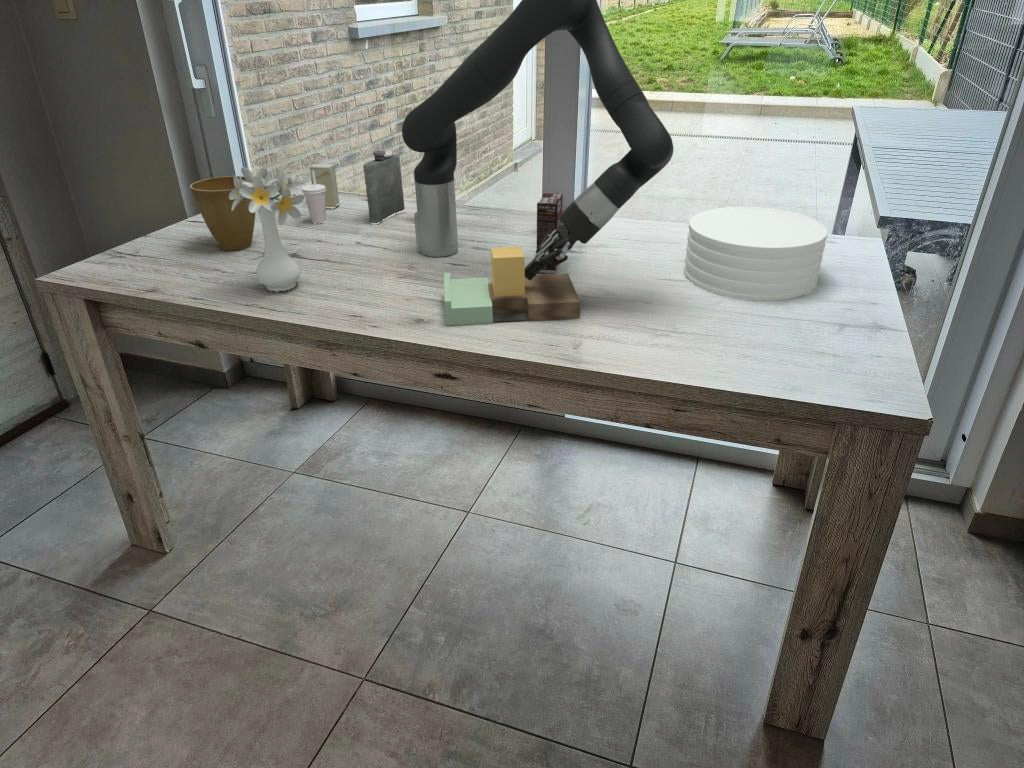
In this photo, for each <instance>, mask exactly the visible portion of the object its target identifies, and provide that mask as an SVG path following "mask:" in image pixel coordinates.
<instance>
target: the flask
mask: <svg viewBox="0 0 1024 768" xmlns="http://www.w3.org/2000/svg"><path fill="white" fill-rule="evenodd" d="M372 155H373V157H374V158H373V160H370V161H368V162H366V163H364V164H362V165H363V166H362V167H363V174H364V175H363V176H364V182H365V191H366V197H367V207H368V215H369V222H372V223H378V222H380V221H382V220H383V219H385V218H387V217H388V216H390V215H392V214H394V213H397V212H399V211H402V210H404V209H405V200H404V188H403V179H402V169H401V158H400V157H401V156H400V154H388V155H387V154H386V151H385V150H374V151H373V152H372Z"/></svg>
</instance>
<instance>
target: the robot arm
mask: <svg viewBox="0 0 1024 768" xmlns="http://www.w3.org/2000/svg"><path fill="white" fill-rule="evenodd" d="M557 31H568V33H569V34H570V35H571V36H572V37H573V38H574V40H575V41H576V43H578V45H579V47H580V48H581V50H582V52H583V54H584V56H585V59H586V62H587V65H588V68H589V72H590V76H591V80H592V83H593V86H594V89H595V92H596V93H597V94H596V95H597V96H598V98H599V100H600V101H601V103H602V105H603V107H604V108H605V110H606V111H607V113H608V114H609V117H610V118H611V120H612V121H613V122H614V124H615V125H616V126H617V127H618V128H619V130H620V131H621V133H622V135H623V138H624V139H625V141H626V143H627V144H628V146H629V148H630V150H629V151H628V152H627V153H626V154H624V156H623V157H622V158H621V159H619V161H618V162H615V163H613V164H611V165H610V166H609V167H608V168H606V170H604V171H603V172H602V173H601V174H600V175H599V176H598V178H596V180H595V181H593V182H592V183H591V184H590V185H589V186H588V187H586V188H585V189H583V191H581V193H580V194H579V195H578V196H577V197H575V199H573V201H572V202H571V203H570V204H569V205H568V206H567V207H566V208H565V209H564V210H562V213H561V214H560V215H559V219H560V221H561V223H562V225H561V226H560V227H558V228H557V229H555V230H554V231H552V230H549V231H548V232H547V234H546V236H545V237H544V239H543V240H542V242H541V244H540V245H539V247H538V248H537V247H536V250H535V253H536V254H535V255H534V258H533V260H531V261H530V262H529V263H528V264H527V265H526V266H525V277H526V278H527V279H528V280H532V279H533V278H534V277H535V276H536V275H539V274H540V273H539V272H540V271H541V270H542V269H543V268H544V269H545V268H546V269H547V270H549V269H551V268H553V267H555V266H557V265H558V264H559V265H560V264H562V263H564V262H566V261H567V260H568V259H569V256H568V255H567V254H568V253H569V252H570V251H572V248H573V247H574V245H576V244H575V243H577V242H578V241H579V242H580V243H581V244H585V245H586V244H588V243H589V241H590V240H591V239H593V237H595V236H596V235H597V233H599V232H600V231H601V230H602V228H603V227H604V226H606V225H607V224H608V223H609V222H610V221H611V220H612V219H613V218H614V216H615V215H616V213H617V212H618V211H619V210H620V209H621V208H622V207H623V206H624V205H625V204H626V203H627V202H628V201H629V200H630V199H631V198H632V197H633V196H635V194H636V193H637V191H639V189H640V188H642V187H643V186H644V185H645V184H647V183H648V182H649V181H650V180H651V179H653V177H655V176H656V175H657V174H658V173H660V172H661V171H662V170H663V169H664V168H665V167H666V166H667V165H668V164H669V162H670V161H671V159H672V158H673V154H674V143H673V139H672V136H671V135H670V133H669V131H668V129H666V127H665V125H664V124H663V122H662V121H661V119H660V118H659V116H658V115H657V114H656V113H655V111H654V110H653V108H652V107H651V105H650V103H649V101H648V99H647V97H646V95H645V93H644V92H643V90H642V89H641V87H640V86H639V84H638V82H637V80H636V79H635V77H634V75H633V74H632V73H631V70H630V69H629V67H628V66H627V64H626V62H625V60H624V58H623V57H622V55H621V52H620V51H619V49H618V47H617V45H616V43H615V41H614V38H613V37H612V35H611V32H610V30H609V27H608V26H607V23H606V21H605V18H604V16H603V14H602V11H601V8H600V6H599V3H598V1H597V0H520V2H519V3H518V4H517V6H516V7H515V8H514V10H513V11H512V12H511V13H510V14H509V16H508V17H507V18H506V19H505V20H504V21H503V22H502V23H501V24H500V25H499V26H498V27H497V28H495V30H494V31H493V32H492V33H491V34H490V35H489V36H488V37H486V38H485V40H484V41H482V43H480V44H479V45H478V46H477V47H476V48H475V49H474V50H473V51H472V52H471V53H470V54H469V55H468V56H467V57H466V59H464V61H462V62H461V64H460V65H459V66H458V67H457V68H456V69H455V70H454V72H452V74H451V75H449V76H448V77H447V79H446V80H445V81H444V82H443V83H442V84H441V85H440V86H439V88H437V90H435V91H434V92H433V93H432V94H431V95H430V96H429V97H427V99H425V100H424V101H422V102H421V103H420V104H419V105H417V106H416V107H414V108H413V109H412V110H411V111H409V113H408V114H407V115H406V116H405V118H404V119H403V122H402V126H401V137H402V140H403V142H404V143H405V145H406V147H407V148H408V149H410V150H412V151H413V152H415V153H416V152H417V153H423V156H422V158H421V160H420V161H419V163H418V164H417V165H416V166H415V167H414V170H413V178H414V190H415V201H416V202H415V203H416V210H417V211H416V212H415V213H414V214H413V219H414V231H415V240H416V241H415V242H416V251H417V253H420V252H421V253H420V254H422V255H424V256H426V255H427V257H434V258H436V257H438V258H440V257H448V256H451V255H455V254H456V253H458V251H459V241H458V240H459V239H458V237H459V236H458V223H457V222H458V221H457V220H458V219H457V205H456V204H457V203H456V188H455V186H456V185H455V170H456V168H457V167H456V166H457V162H458V161H457V160H458V157H457V156H458V155H457V154H458V153H457V152H458V150H457V148H458V147H457V145H458V144H457V141H458V139H457V126H456V122H457V121H458V120H460V119H462V118H464V117H465V116H467V115H469V114H471V113H473V112H474V111H476V110H478V109H479V108H481V107H482V106H484V105H486V104H488V103H490V101H492V100H493V99H495V97H497V96H498V95H499V94H500V93H501V92H502V91H504V89H506V88H507V87H508V86H509V85H510V84H511V83H512V81H513V80H514V79H515V77H516V76H517V74H518V72H519V71H520V68H521V66H522V63H523V61H524V59H525V57H526V56H527V55H528V53H529V52H530V51H531V50H532V49H533V48H535V46H537V45H538V44H539V43H540V42H541V41H543V40H544V39H545V38H546V37H548V36H549V35H551V34H552V33H554V32H557Z"/></svg>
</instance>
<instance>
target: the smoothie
mask: <svg viewBox="0 0 1024 768" xmlns="http://www.w3.org/2000/svg"><path fill="white" fill-rule="evenodd" d="M312 174H313V181H314V185H312V184H308V185H304V186H302V187H301V193H302V194H303V195H304V200H305V203H306V206H307V210H308V213H309V216H310V219H311V223H312V222H313V223H320V222H324V221H326V222H327V213H326V210H327V209H326V206H325V191H326V187H325V186H324V185H320V184H316V180H315V174H314V171H312ZM313 223H312V224H313Z"/></svg>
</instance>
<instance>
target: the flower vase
mask: <svg viewBox="0 0 1024 768" xmlns="http://www.w3.org/2000/svg"><path fill="white" fill-rule="evenodd" d="M240 172H241V174H242V175H236V174H234V175H233V176H234V178H233V180H234V185H235V187H236V188H237V189H238V190H232V191H231V192H230V194H229V199H230V200H234V199H237V200H235V201H234V203H233V205H232V211H233V210H234V209H235V207H236V206H237V205H238V203H239V202H240V201H241V200H242V199H243V198H244V197H245V198H248V199H252V201H251V202H250V204H249V211H250V212H251V213H255V214H256V213H257V212H258V215H259V219H260V222H261V223H260V224H261V226H262V233H263V240H264V253H263V254H264V255H263V257H262V260H261V261H260V262H259V263H258V265H257V266H256V267H257V268H256V271H255V276H256V279H257V280H258V281H259V283H261V284H262V285H263V286H265V287H266V290H267V291H269V290H270V291H269V292H272V291H275V292H274V293H280V292H279V291H283V292H287V291H286V290H288V291H290V289H291V290H293V289H294V288H295V287H296V285H297V283H296V282H297V281H298V280H299V279H300V276H301V274H302V270H301V267H300V264H299V263H298V262H297V261H296V260H295V259H293V258H292V257H290V256H289V255H288V253H287V252H286V249H284V246H283V244H282V241H281V238H280V235H279V229H278V225H280V226H282V225H283V224H285V222H286V220H287V217H288V216H289V217H291V218H292V219H295V220H299V219H300V218H302V214H301V211H300V210H299V209H298V208H297V207H296V206H298V205H299V206H301V207H303V203H302V202H303V201H304V200H305V196H304V194H298V193H299V187H298V186H296V185H295V184H293V180H292V178H291V177H287V174H286V172H285V171H282V172H281V171H280V168H279V167H276V172H275V173H276V178H273V179H270V180H265V179H266V177H267V176H268V172H269V171H268V169H267V168H265V167H264V168H261V169H259V170H258V171H257V172H256V174H255V175H254V173H253V171H252V170H250V169H249V168H247V167H241V169H240ZM237 176H239V180H238V178H237ZM241 176H243V177H245V179H246V180H247V181H246V180H242V178H241ZM244 187H246V188H244ZM296 194H297V195H296ZM276 212H278V217H276ZM276 218H277V219H276ZM300 220H301V219H300ZM277 223H278V224H277Z"/></svg>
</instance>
